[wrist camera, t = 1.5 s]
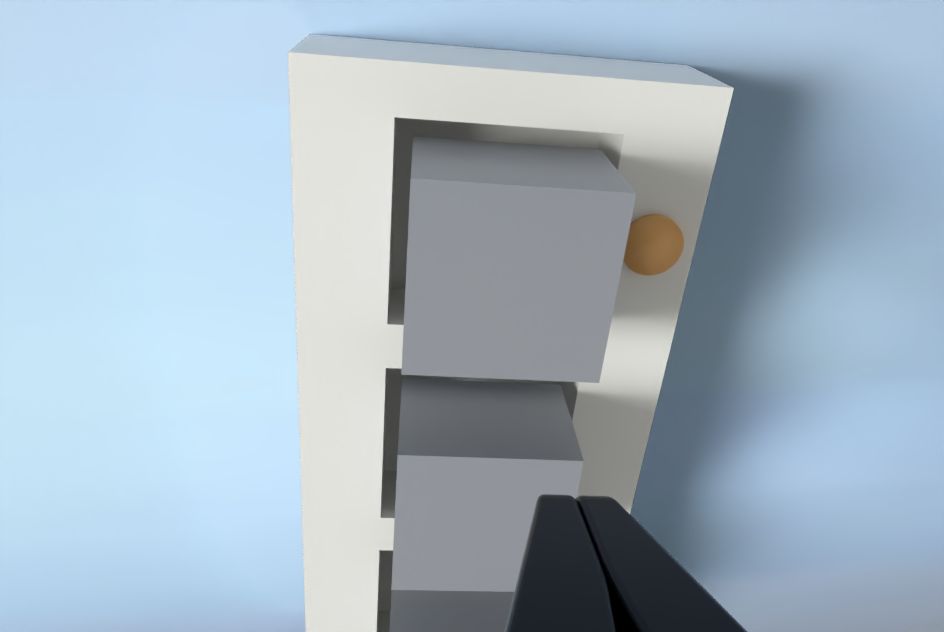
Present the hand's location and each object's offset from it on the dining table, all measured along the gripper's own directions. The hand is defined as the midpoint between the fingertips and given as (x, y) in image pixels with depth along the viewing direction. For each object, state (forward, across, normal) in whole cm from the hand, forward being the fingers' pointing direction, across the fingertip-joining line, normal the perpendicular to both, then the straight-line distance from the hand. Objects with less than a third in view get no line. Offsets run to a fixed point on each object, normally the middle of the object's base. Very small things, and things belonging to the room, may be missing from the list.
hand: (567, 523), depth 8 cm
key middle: (+9, 0, +6) cm, 11 cm away
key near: (+9, 0, 0) cm, 9 cm away
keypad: (+12, 0, +6) cm, 13 cm away
